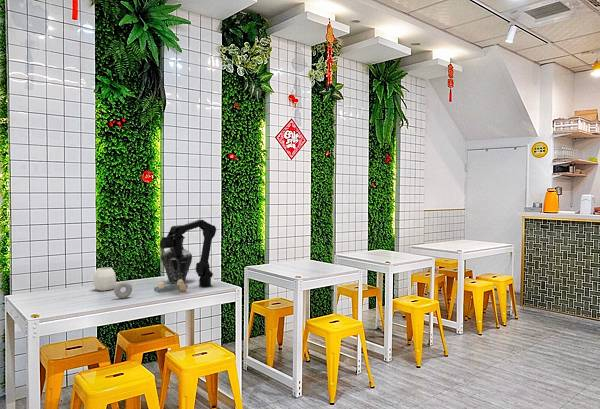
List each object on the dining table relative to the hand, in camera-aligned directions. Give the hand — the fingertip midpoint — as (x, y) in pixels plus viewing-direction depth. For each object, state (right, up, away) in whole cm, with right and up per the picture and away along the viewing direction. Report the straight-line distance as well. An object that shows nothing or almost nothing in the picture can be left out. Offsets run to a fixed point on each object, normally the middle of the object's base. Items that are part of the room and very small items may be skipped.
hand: (178, 272), depth 297 cm
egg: (+3, -12, 0) cm, 12 cm away
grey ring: (-28, -13, -16) cm, 35 cm away
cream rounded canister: (-48, -13, +9) cm, 50 cm away
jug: (-8, -11, +29) cm, 33 cm away
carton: (-6, -12, +7) cm, 15 cm away
